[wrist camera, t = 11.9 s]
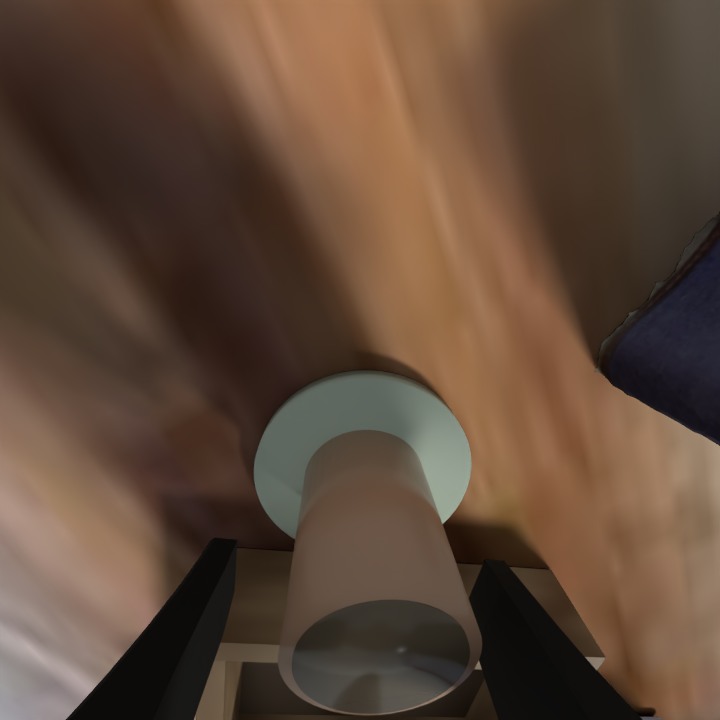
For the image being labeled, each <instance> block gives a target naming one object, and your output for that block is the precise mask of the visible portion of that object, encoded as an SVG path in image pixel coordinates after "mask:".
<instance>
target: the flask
mask: <svg viewBox="0 0 720 720" xmlns="http://www.w3.org/2000/svg"><path fill="white" fill-rule="evenodd" d="M680 256H681V257H682V259H681V260H680V261H679V262H678V263H679V264H678V266H677V268H676V272H675V273H673V274H672V276H671V277H669V278H668V279H667V280H666V281H665V282H664V281H663V282H655V288H654V289H653V290H652V293H651V295H650V299H649V300H648V301H646V303H645V304H644V305H643V306H642V307H640V308H638V309H637V310H635V311H634V312H629V313H628V314H629V316H628V317H627V318H626V320H625V321H624V322H623V324H622V325H621V326H620V327H618V328H617V329H616V330H615V331H614V332H613V333H612V334H611V335H610V336H609V337H607V339H605V340H604V341H603V342H602V344H601V347H600V348H601V350H600V351H599V359H598V366H597V368H596V370H595V372H600V373H601V374H602V375H604V376H605V378H607V379H608V380H609V382H610V383H611V384H612V385H613V386H615V387H617V388H618V389H620V390H622V391H623V392H624V393H626V394H627V395H629V396H632V397H634V398H636V399H638V400H639V401H641V402H643V403H644V404H646V405H648V406H649V407H651V408H653V409H654V410H656V411H658V412H660V413H662V414H664V415H666V416H668V417H670V418H671V419H673V420H675V421H677V422H679V423H681V424H682V425H684V426H685V427H687V428H688V429H690V430H692V431H694V432H696V433H699V434H701V435H703V436H705V437H706V438H708V439H710V440H711V441H713V442H714V443H716V444H718V445H719V446H720V213H719V215H717V218H712V219H711V220H710V221H709V222H708V223H707V224H706V226H705V227H704V228H703V229H702V230H701V231H700V232H699V233H696V234H695V236H694V238H693V240H692V242H691V243H690V244H689V245H688V246H686V247H685V248H684V251H683V255H680Z"/></svg>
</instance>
